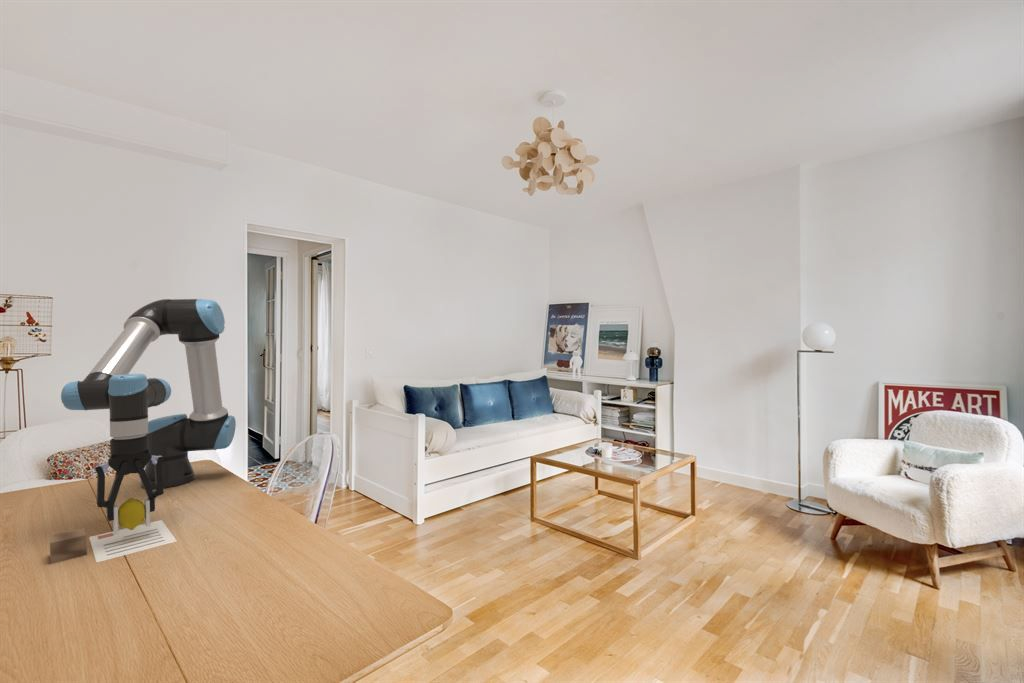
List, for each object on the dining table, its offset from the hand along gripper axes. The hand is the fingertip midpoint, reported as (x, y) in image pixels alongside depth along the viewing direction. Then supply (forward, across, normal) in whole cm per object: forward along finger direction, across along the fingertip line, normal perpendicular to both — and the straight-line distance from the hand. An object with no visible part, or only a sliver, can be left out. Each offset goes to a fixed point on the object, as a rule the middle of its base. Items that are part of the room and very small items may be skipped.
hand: (132, 528), depth 119 cm
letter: (+3, 0, 0) cm, 3 cm away
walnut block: (+3, +12, 0) cm, 12 cm away
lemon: (+1, 0, 0) cm, 1 cm away
